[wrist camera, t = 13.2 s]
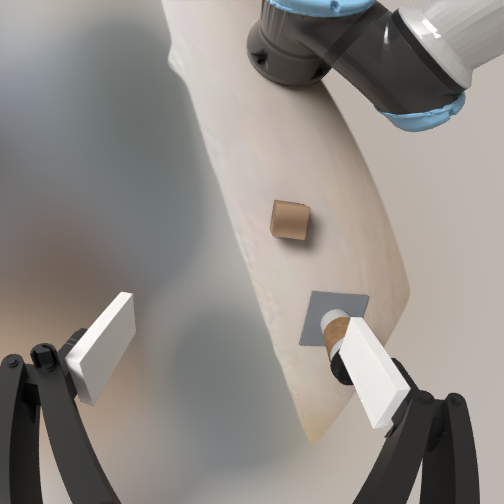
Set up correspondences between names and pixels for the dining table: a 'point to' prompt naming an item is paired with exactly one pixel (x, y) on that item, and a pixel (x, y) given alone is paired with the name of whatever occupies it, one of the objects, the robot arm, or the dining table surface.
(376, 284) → the dining table surface
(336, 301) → the slate coaster
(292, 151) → the dining table surface
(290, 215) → the walnut block
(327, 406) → the dining table surface
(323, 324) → the coffee cup
